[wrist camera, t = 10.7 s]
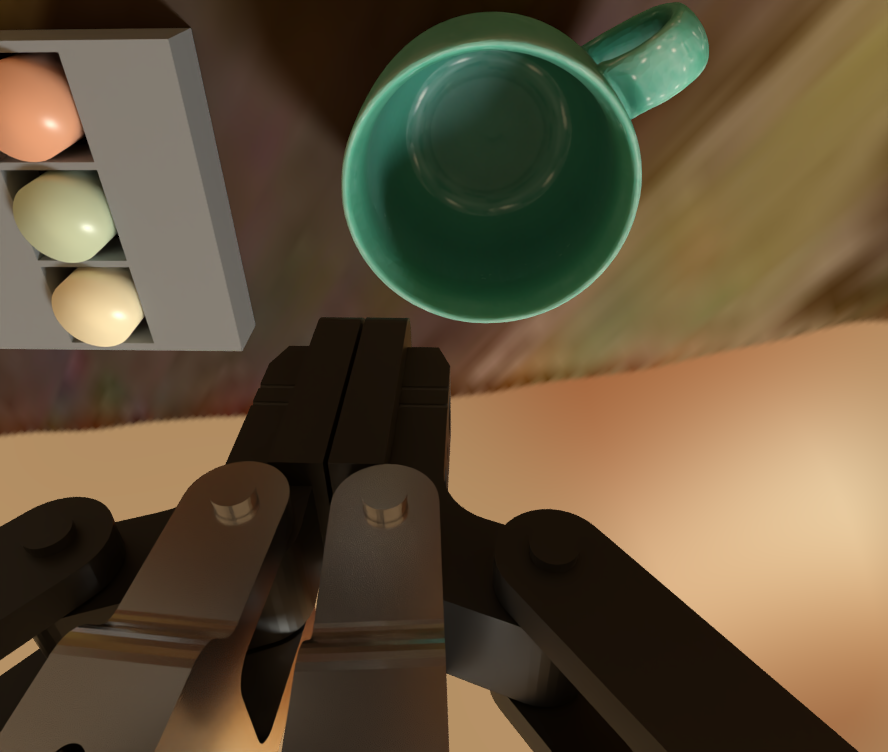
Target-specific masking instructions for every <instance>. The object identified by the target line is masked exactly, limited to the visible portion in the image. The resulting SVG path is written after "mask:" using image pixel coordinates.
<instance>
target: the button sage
mask: <svg viewBox="0 0 888 752" xmlns="http://www.w3.org/2000/svg"><path fill="white" fill-rule="evenodd" d="M13 215H14V219H15V222H16V224H17V227H18V229H19V230H20V232H21V233H22V235H23V236H24V237H25V239H26V240H27V241H28V242H29V243H30V244H31V245H32V246H33V247H34V248H36V249H37V250H38V251H40V252H41V253H43V254H44V255H46V256H48V257H50V258H53V259H55V260H58V261H62V262H68V263H78V262H83V261H86V260H88V259H90V258H92V257H93V256H94V255H95V254H96V253H97V252H98V251H100V250H101V249H102V248H103V247H104V246H105V245H106V244H107V243H108V242H109V241H110V240H111V239H112V238H113V237H114V236H115V235H116V234H117V233H118V232H117V229H116V226H115V223H114V220H113V217H112V214H111V211H110V208H109V205H108V202H107V199H106V196H105V193H104V190H103V187H102V183H101V180H100V177H99V174H98V171H97V170H48V171H47V172H45V173H44V174H42V175H41V176H39V177H38V178H36V179H35V180H33V181H31V182H30V183H28V184H27V185H25V186H24V187H22V188H21V189H20V190H19V191H18V193H17V194H16V196H15V198H14V202H13Z"/></svg>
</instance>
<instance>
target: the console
mask: <svg viewBox="0 0 888 752" xmlns="http://www.w3.org/2000/svg"><path fill="white" fill-rule="evenodd" d="M16 52H58V53H59V56H60V59H61V62H62V65H63V68H64V71H65V74H66V77H67V80H68V83H69V86H70V89H71V92H72V95H73V98H74V101H75V105H76V108H77V111H78V114H79V117H80V120H81V123H82V126H83V129H84V132H85V135H86V138H87V141H88V144H73V145H71V146H69V147H68V148H66V149H65V150H63V151H62V152H60V153H58V154H57V155H55V156H54V157H52V158H50V159H48V160H46V161H41V162H27V161H22V160H19V159H16V158H13V157H11V156H9V155H7V154H5V153H3V152H2V151H0V349H85V350H187V351H243V349H244V347H245V345H246V343H247V341H248V339H249V337H250V335H251V333H252V331H253V329H254V327H255V321H254V317H253V312H252V307H251V303H250V298H249V294H248V289H247V284H246V280H245V275H244V271H243V266H242V261H241V257H240V252H239V247H238V243H237V238H236V234H235V229H234V224H233V220H232V215H231V211H230V206H229V201H228V197H227V192H226V188H225V183H224V178H223V174H222V169H221V165H220V160H219V155H218V151H217V146H216V142H215V137H214V132H213V128H212V123H211V119H210V114H209V109H208V105H207V100H206V95H205V91H204V86H203V82H202V77H201V72H200V68H199V63H198V59H197V54H196V49H195V45H194V40H193V36H192V31H191V28H143V29H57V30H0V53H16ZM38 170H97V171H98V174H99V177H100V180H101V183H102V187H103V190H104V193H105V196H106V199H107V202H108V205H109V208H110V211H111V214H112V217H113V220H114V223H115V226H116V229H117V232H118V235H119V238H112V239H111V240H110V241H109V242H108V243H107V244H106V245H105V246H104V247H103V248H102V249H101V250H100V251H98V252H97V253H96V254H95V255H94V256H93V257H92V258H90V259H88V260H86V261H83V262H78V263H68V262H62V261H58V260H55V259H53V258H50V257H48V256H46V255H44V254H43V253H41V252H40V251H38V250H37V249H36V248H34V247H33V246H32V245H31V244H30V243H29V242H28V241H27V240H26V239H25V237H24V236H23V235H22V233H21V232H20V230H19V229H18V227H17V224H16V222H15V219H14V215H13V202H14V198H15V196H16V194H17V193H18V191H19V190H20V189H21V188H22V187H24V186H25V185H27V184H28V183H30V182H31V181H33V180H35V179H36V178H38V177H39V176H40V174H39V171H38ZM75 267H129V268H130V272H131V275H132V278H133V281H134V284H135V287H136V290H137V293H138V296H139V299H140V302H141V305H142V308H143V311H144V314H145V317H146V318H143V319H142V320H141V322H140V323H139V324H138V326H137V327H136V328H135V329H134V331H133V332H132V333H131V335H130V336H129V337H128V338H127V339H126V340H125V341H124V342H123V343H121V344H119V345H116V346H111V347H99V346H94V345H90V344H87V343H85V342H83V341H81V340H79V339H77V338H75V337H74V336H72V335H71V334H70V333H68V332H67V331H66V330H65V329H64V328H63V327H62V326H61V324H60V323H59V322H58V320H57V319H56V317H55V315H54V312H53V309H52V295H53V292H54V291H55V289H56V288H57V287H58V286H59V285H60V284H61V283H62V282H63V281H64V280H65V279H66V278H67V277H68V276H69V275H70V274H71V273H72V272H73V271H74V270H76V268H75Z"/></svg>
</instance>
